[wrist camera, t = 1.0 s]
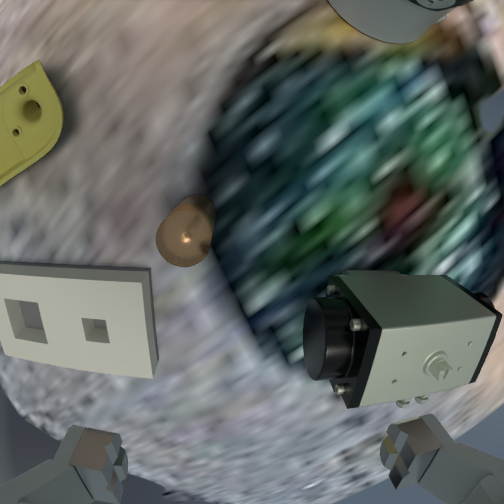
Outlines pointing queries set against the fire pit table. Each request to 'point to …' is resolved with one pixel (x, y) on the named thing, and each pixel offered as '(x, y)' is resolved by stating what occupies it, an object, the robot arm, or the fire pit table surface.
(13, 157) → the plastic component
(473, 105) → the fire pit table surface
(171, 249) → the brown cylinder
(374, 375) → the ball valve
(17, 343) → the fitting block
